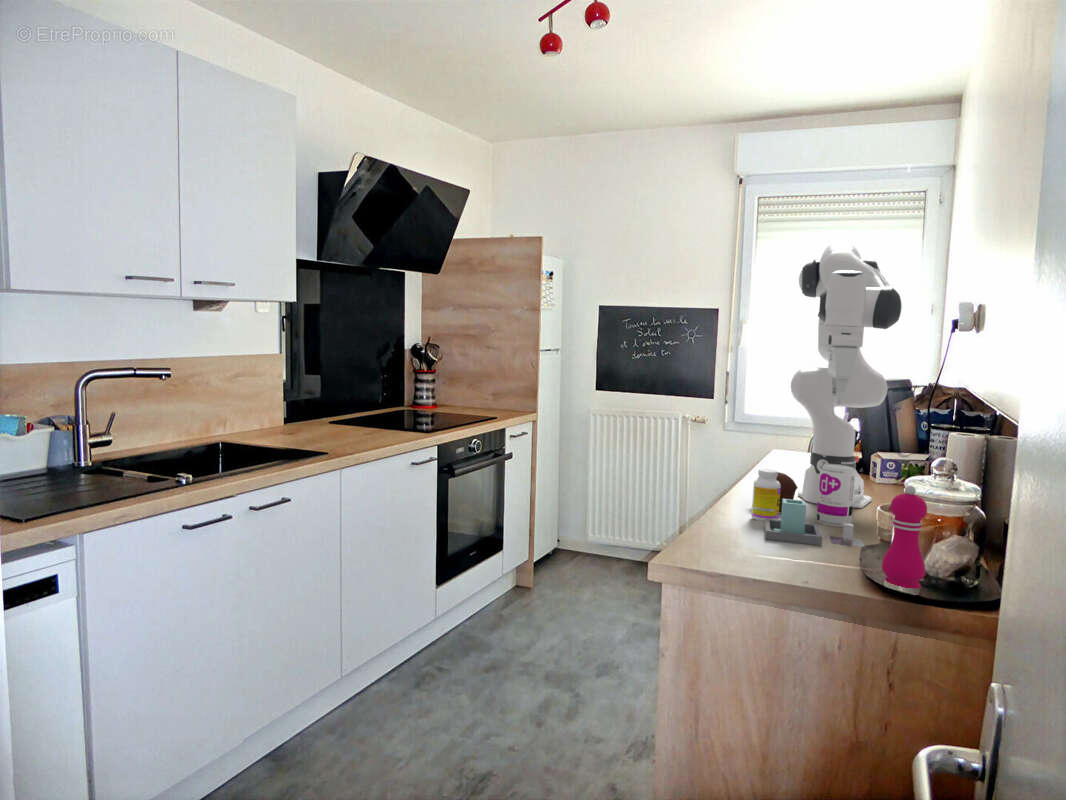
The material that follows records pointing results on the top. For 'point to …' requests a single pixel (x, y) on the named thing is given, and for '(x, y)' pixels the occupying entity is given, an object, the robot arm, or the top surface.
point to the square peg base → (847, 537)
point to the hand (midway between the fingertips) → (837, 397)
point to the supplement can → (835, 495)
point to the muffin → (786, 488)
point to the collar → (793, 516)
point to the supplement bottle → (766, 496)
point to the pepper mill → (905, 541)
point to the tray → (793, 534)
